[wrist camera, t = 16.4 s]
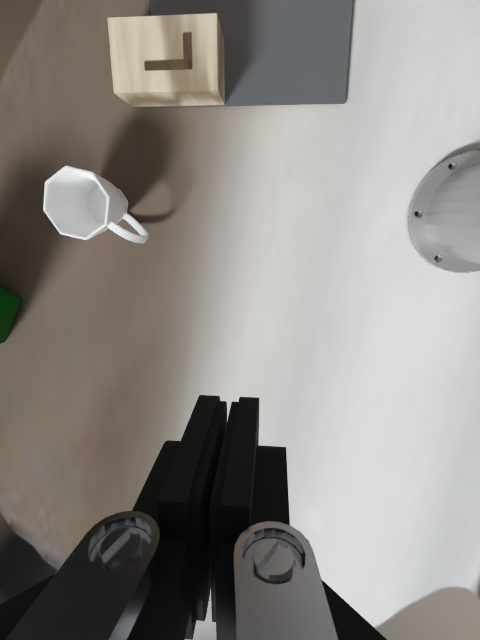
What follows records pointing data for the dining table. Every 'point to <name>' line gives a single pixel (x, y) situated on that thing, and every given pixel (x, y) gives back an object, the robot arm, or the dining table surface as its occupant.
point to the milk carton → (7, 311)
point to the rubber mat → (278, 48)
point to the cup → (87, 205)
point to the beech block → (168, 60)
